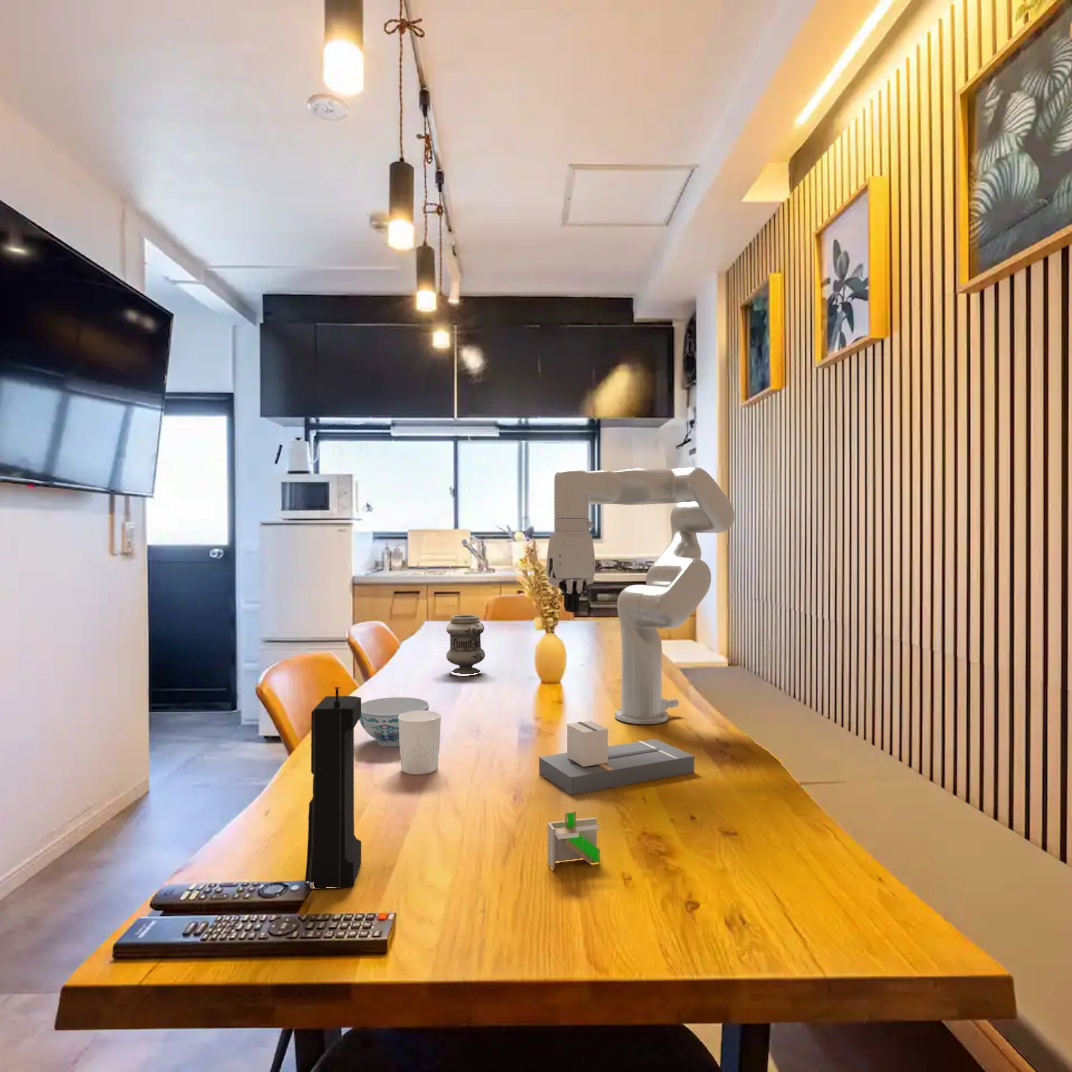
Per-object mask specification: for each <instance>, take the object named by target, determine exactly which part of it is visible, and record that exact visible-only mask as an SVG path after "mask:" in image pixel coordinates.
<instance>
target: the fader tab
mask: <svg viewBox="0 0 1072 1072" xmlns="http://www.w3.org/2000/svg"><path fill="white" fill-rule="evenodd" d="M608 746H609V729H608V728H607V727H604V726H602V725H601V724H598V723H597V722H594V721H591V720H587V721H577V722H573V723H567V724H566V753H567V757H568V758H570V759H571V760H573V761H575V762H576V763H578V764H580V765H581V766H583V767H585V766H591V765H597V764H603V763H608Z"/></svg>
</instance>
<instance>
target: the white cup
mask: <svg viewBox="0 0 1072 1072" xmlns="http://www.w3.org/2000/svg"><path fill="white" fill-rule="evenodd" d="M441 719H442V715H441V713H439V712H437V711H434V710H433V711H432V710H428V711H410V712H406V713H402V714H400V715H399V716H398V724H399V745H400V746H399V755H400V770H401V771H402V773H404V774H406V775H407V774H409V775H419V776H421V775H427V774H430V773H433V772H436V771H437V769H438V768H439V754H440V743H441V725H442V723H441V721H442V720H441Z"/></svg>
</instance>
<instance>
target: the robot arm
mask: <svg viewBox="0 0 1072 1072" xmlns="http://www.w3.org/2000/svg"><path fill="white" fill-rule="evenodd" d="M553 479H554V480H553V481H554V483H553V486H554V487H553V488H554V490H553V493H554V495H553V501H554V502H553V503H554V505H553V506H554V507H553V508H554V509H553V511H554V515H553V516H554V517H553V518H554V519H553V522H554V527H553V528H554V531H553V532H554V533H550V535H549V540H548V545H547V553H546V565H545V566H546V569H545V570H546V577H548V585H551V586H554V587H557V588H559V589H560V591H561V593H562V594H563V607H564V611H565V612H568V613H579V608H580V594H581V593H582V592H583V590H584V589H585V587H586V586H588V585H591V584H594V582H595V578H594V577H595V573H596V558H595V547H594V541H593V536H592V533H590V529H593V528H594V522H593V521H590V517H589V516H590V512H589V511H590V507H589V505H593V506H595V505H621V506H622V505H623V506H624V505H625V506H636V505H638V506H639V505H658V504H659V505H661V504H663V505H664V504H674V506H673V508H672V510H671V512H670V517H669V518H670V528H671V539H670V540H671V541H670V543H669V544H668V545H667V547H666V548H665V550H663V552H662V553H661V554H659V556H658V558H657V559H655V561H654V562H653V564H652V565H651V566H650V567H649V569H648V571H647V572H646V574H645V575H646V576H645V583H646V584H632V585H629V586H627V587H625V588H623V590H621V592H619V595H618V597H617V603H616V608H617V609H616V610H617V616H618V619H619V620H618V621H619V626H620V635H621V636H620V637H621V670H620V671H621V678H620V679H621V688H620V689H621V692H620V693H621V694H620V695H621V698H620V699H621V700H620V701H621V704H620V705H621V707H620V708H618V709H617V710H615V711H614V718H615V719H616V720H618V721H621V722H623V723H627V724H628V723H629V724H634V725H655V724H656V725H657V724H662V723H665V722H667V721H668V720H669V713H668V712H667V710H668V709H669V708H671V709H672V708H677V707H679V700H678V699H677V698H673V699H672V698H671V699H667V698H664V697H663V694H662V693H663V685H662V684H663V676H662V675H663V672H662V671H663V665H662V664H663V663H662V662H663V644H662V640H661V636H660V633H659V631H658V629H659V628H660V629H667V630H668V629H669V630H671V629H677V628H679V627H681V626H682V625H684V624H685V623H686V621H687V620H688V619H689V618H690V617H691V615H692V614H693V613H694V611H695V610H696V609H697V607H698V606H699V605H700V604H701V602H702V601H703V600H704V598H705V597H706V596H707V593H708V592H709V589H710V588H711V587H710V586H711V583H712V572H711V569H710V567H709V565H708V564H707V563H706V562H705V561H704V560H702V558H701V557H702V549H701V546H700V544H699V541H698V536H697V534H698V533H699V534H713V533H714V534H720V533H721V534H722V533H725V532H727V531H728V530H730V529H731V527H732V526H733V524H734V522H735V510H734V506H733V505H732V503H731V501H730V499H729V498H728V497H727V495H726V494H725V493H724V491H723V490H722V489H721V487H720V485H718V483H717V482H716V481H715V479H714V478H713V477H712V476H711V475H710V474H709V472H707V471H706V470H705V469H704V468H701V467H698V466H692V467H691V466H690V467H679V468H632V469H631V468H630V469H624V470H623V469H622V470H618V471H611V470H604V469H603V470H591V471H590V470H589V471H585V470H582V469H562V470H561V469H560V470H558V471H557V472H556V473H555V474H554V478H553Z"/></svg>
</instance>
